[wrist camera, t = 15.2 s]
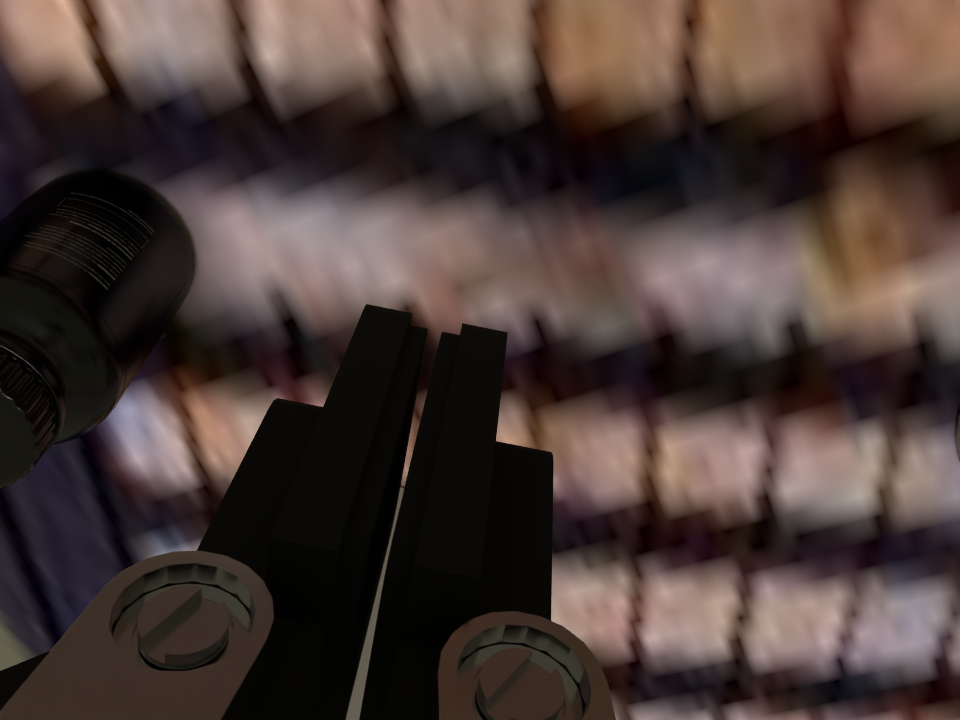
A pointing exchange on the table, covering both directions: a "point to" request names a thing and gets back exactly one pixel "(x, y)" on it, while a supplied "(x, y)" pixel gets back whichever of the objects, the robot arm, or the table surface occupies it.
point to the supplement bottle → (80, 307)
